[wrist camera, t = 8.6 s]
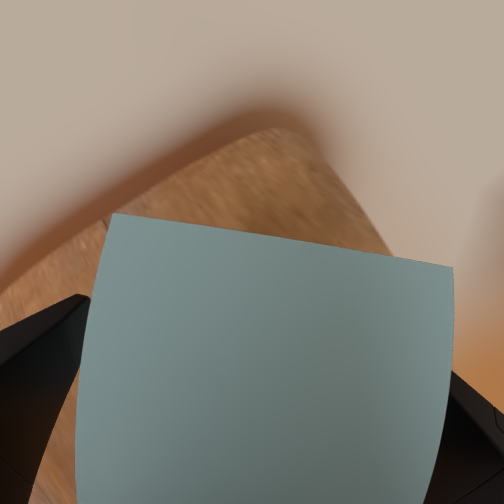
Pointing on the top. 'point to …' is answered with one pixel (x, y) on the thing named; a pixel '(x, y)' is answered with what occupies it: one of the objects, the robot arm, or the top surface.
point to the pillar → (259, 370)
